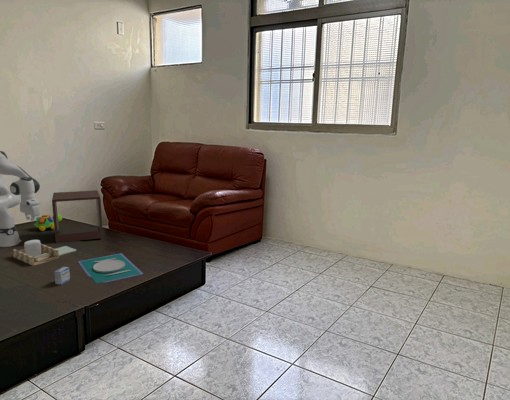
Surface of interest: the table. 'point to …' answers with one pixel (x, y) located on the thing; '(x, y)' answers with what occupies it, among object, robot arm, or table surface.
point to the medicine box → (62, 275)
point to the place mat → (109, 268)
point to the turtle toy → (46, 222)
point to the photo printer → (33, 248)
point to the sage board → (65, 250)
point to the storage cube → (82, 232)
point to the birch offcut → (41, 257)
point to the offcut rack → (30, 259)
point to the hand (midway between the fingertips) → (30, 220)
